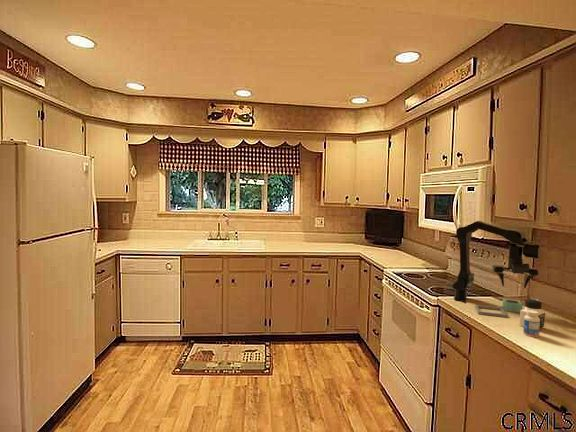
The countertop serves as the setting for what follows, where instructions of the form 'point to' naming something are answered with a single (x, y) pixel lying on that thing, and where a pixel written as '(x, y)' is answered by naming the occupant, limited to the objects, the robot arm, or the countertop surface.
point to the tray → (490, 312)
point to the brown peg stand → (511, 302)
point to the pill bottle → (531, 324)
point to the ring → (512, 306)
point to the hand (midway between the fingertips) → (513, 287)
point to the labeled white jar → (535, 306)
